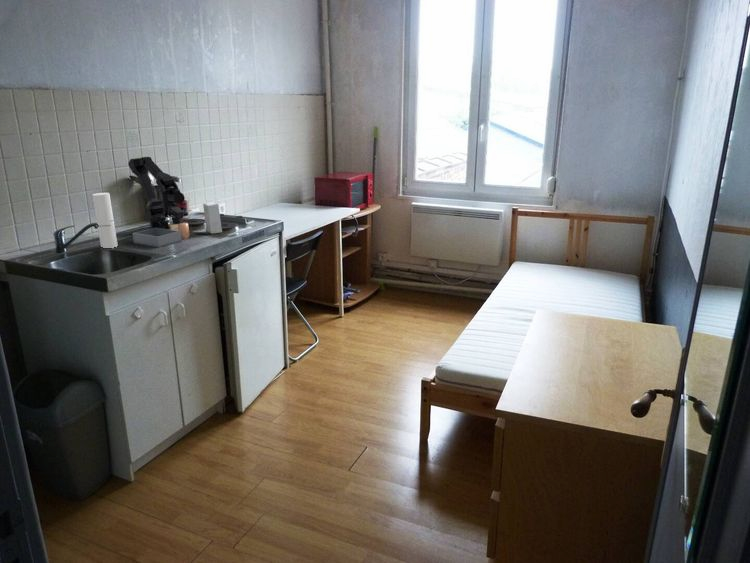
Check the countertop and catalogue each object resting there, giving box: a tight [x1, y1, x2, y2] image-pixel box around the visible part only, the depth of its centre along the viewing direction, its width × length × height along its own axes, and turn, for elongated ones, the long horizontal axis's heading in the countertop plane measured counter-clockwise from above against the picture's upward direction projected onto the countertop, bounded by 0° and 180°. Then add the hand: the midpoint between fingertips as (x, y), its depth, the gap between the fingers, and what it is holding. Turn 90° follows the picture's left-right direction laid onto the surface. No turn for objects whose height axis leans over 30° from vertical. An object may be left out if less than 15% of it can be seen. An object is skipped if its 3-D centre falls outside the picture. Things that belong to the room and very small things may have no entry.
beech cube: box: [168, 222, 178, 231], centre depth 288 cm, size 5×5×5 cm
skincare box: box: [202, 201, 223, 234], centre depth 291 cm, size 8×6×15 cm
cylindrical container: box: [91, 192, 118, 249], centre depth 262 cm, size 7×7×25 cm
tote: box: [132, 228, 183, 248], centre depth 272 cm, size 18×14×5 cm
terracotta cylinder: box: [178, 222, 191, 240], centre depth 281 cm, size 5×5×7 cm
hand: (172, 232), depth 289 cm, fingers closed on beech cube, 5 cm apart
